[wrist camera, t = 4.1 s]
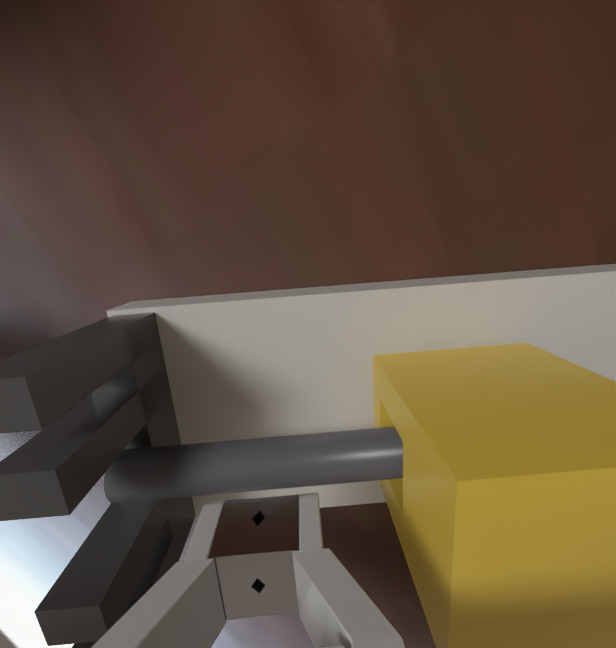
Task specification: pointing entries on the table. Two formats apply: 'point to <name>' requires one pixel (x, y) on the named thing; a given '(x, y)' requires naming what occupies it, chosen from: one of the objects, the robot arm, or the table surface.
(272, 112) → the table surface
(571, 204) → the table surface
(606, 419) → the sleeve
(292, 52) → the table surface
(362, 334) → the board
